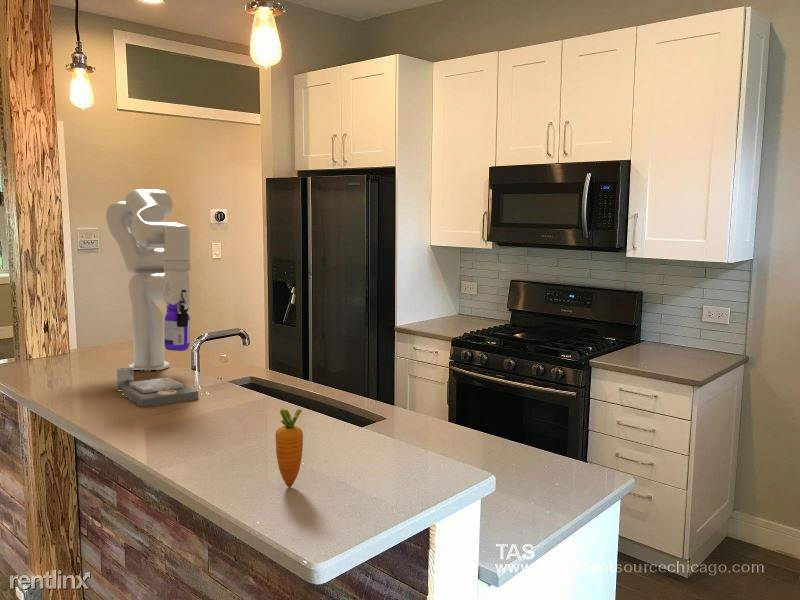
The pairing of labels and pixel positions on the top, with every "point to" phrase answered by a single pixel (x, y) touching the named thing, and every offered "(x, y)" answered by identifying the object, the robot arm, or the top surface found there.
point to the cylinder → (124, 377)
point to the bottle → (176, 331)
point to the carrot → (289, 447)
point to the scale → (160, 396)
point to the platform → (156, 385)
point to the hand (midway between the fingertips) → (177, 324)
